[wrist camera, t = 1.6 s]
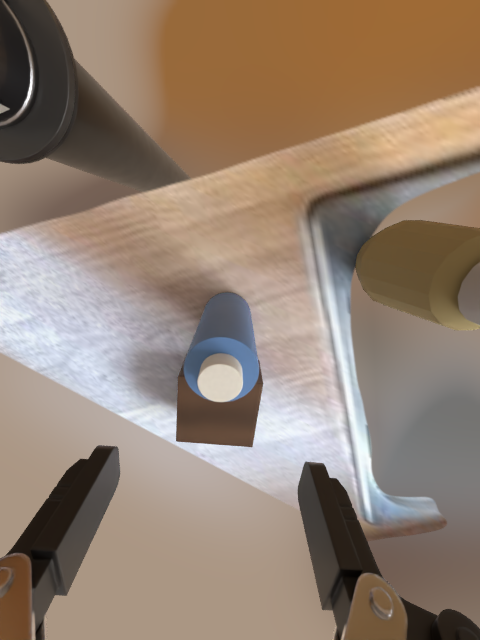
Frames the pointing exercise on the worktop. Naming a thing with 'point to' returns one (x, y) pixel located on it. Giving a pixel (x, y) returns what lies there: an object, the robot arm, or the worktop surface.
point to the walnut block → (216, 416)
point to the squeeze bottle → (425, 271)
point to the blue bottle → (223, 351)
